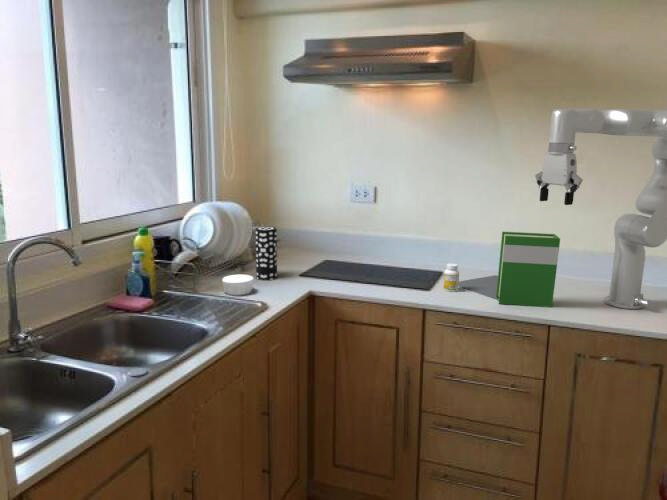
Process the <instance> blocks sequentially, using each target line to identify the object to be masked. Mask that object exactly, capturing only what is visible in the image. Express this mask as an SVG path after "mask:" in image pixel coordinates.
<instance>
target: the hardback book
mask: <svg viewBox="0 0 667 500" xmlns="http://www.w3.org/2000/svg"><path fill="white" fill-rule="evenodd" d="M560 243H561V238H560V237H559V236H558V235H556V234H555V233H539V232H538V233H537V232H523V231H522V232H519V231H517V232H516V231H502V232H501V242H500V249H499V250H500V253H499V263H498V273H497V276H498V282H497V292H496V298H499V300H498V304H500V305H515V306H530V307H542V308H543V307H545V308H546V307H547V308H552V307H553V301H554V294H555V285H556V284H555V283H556V277H557V269H558V268H557V267H558V260H559V252H560Z"/></svg>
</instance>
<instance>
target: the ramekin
mask: <svg viewBox="0 0 667 500" xmlns="http://www.w3.org/2000/svg"><path fill="white" fill-rule="evenodd" d="M221 281H222V283H223V284H222V285H223V289H224V292H225V294H227V295H229V296H245V295H248V294H250V293H251V292H252V290H253V283H254V281H255V279H254V276H252V275H250V274H249V275H248V274H241V273H240V274H239V273H238V274H231V275H226V276H224V277H223V278H222V280H221Z"/></svg>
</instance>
